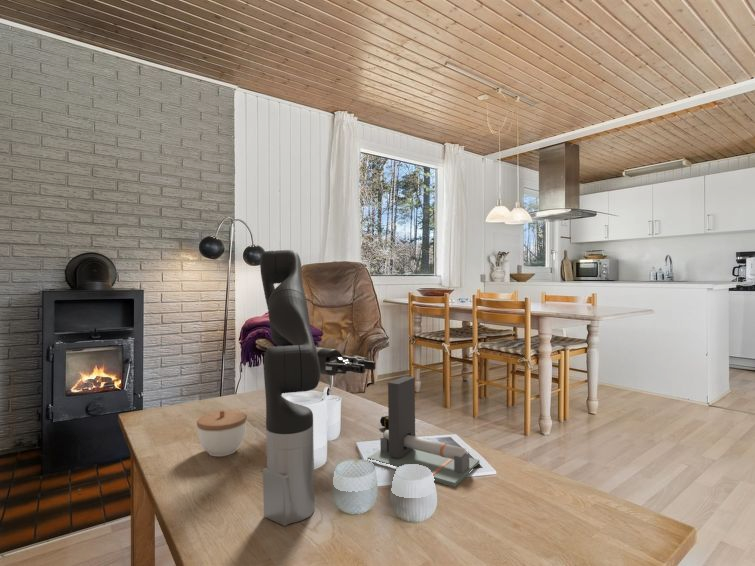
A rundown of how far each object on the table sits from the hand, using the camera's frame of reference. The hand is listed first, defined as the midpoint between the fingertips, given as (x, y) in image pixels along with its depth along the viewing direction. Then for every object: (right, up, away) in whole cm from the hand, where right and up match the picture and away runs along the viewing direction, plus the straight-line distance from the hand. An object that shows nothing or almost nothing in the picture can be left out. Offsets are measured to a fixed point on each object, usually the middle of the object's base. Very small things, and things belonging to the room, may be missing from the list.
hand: (369, 367), depth 118 cm
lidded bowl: (-40, -23, 0) cm, 46 cm away
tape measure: (+7, -22, +16) cm, 28 cm away
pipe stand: (+14, -22, -9) cm, 27 cm away
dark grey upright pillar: (+9, -21, -5) cm, 23 cm away
